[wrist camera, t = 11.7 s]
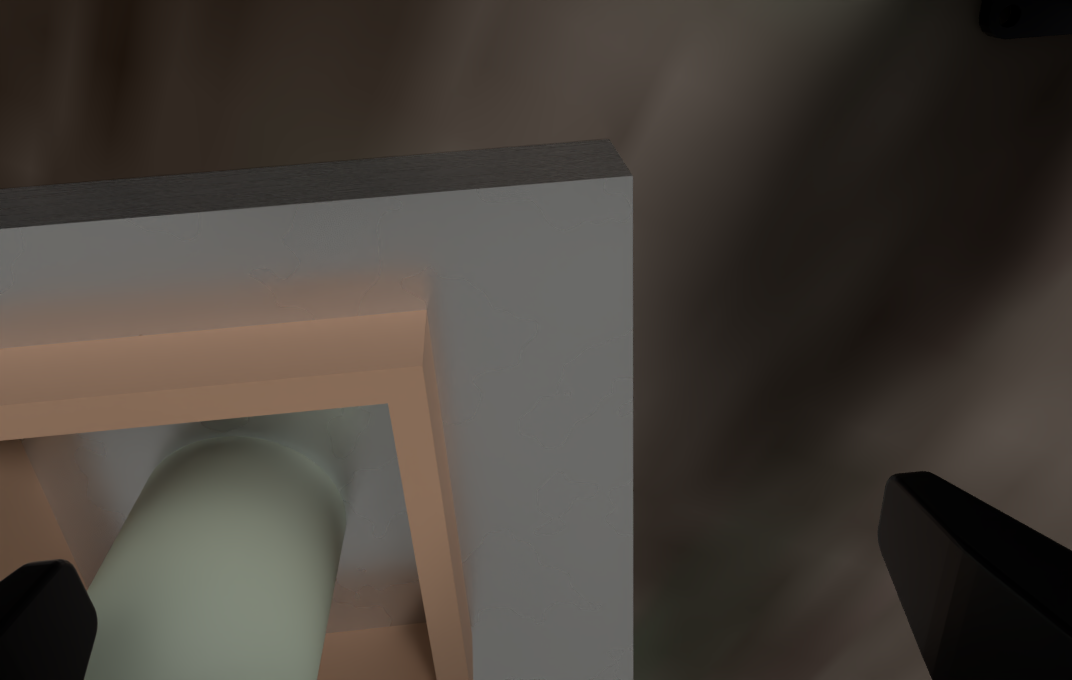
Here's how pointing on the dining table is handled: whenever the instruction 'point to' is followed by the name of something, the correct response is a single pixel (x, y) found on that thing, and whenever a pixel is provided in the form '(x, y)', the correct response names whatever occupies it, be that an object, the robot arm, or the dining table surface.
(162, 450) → the grey board with frame
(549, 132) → the dining table surface
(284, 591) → the spout can
